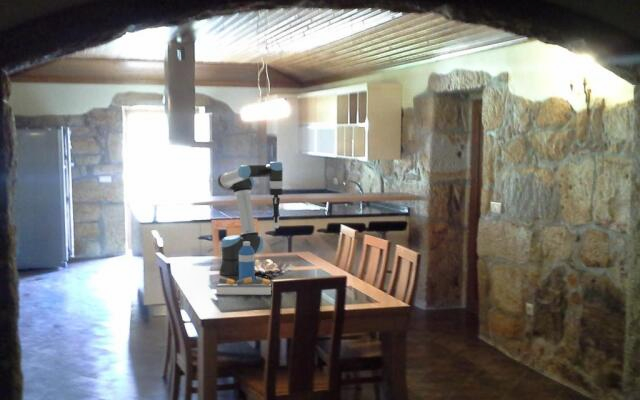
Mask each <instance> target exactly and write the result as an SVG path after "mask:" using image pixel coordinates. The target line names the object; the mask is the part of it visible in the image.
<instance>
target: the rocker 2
mask: <svg viewBox="0 0 640 400" xmlns="http://www.w3.org/2000/svg"><path fill="white" fill-rule="evenodd" d="M236 281H237V285H241V284H245V283H249V282H252V277H247V278H244V279H240V280H239V279H237V280H236Z"/></svg>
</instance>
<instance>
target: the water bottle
mask: <svg viewBox="0 0 640 400" xmlns="http://www.w3.org/2000/svg"><path fill="white" fill-rule="evenodd" d="M255 257H256V254H255V251H254V250H253V248H252V247H251V246H250V242H249V241H245V242H243V246H242V248H241V249H240V250H239V275H238V280H240V279H244V278H247V277H252V281H255V279H256V275H255V274H256V272H255V271H256V270H255V269H256V268H255V267H256V265H255V263H256V262H255V259H256V258H255Z"/></svg>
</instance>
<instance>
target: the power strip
mask: <svg viewBox="0 0 640 400" xmlns="http://www.w3.org/2000/svg"><path fill="white" fill-rule="evenodd" d="M271 284H272V285H273V281H270V284H269V285H265V284H262V283H258V282H255V281H252V282H249V283H245V284H241V285H237V280H235V281H234V284H233V285H230V284H226V283H222V282H219V281H218V284H217V285H216V295H252V296H253V295H256V296H257V295H260V296H261V295H262V296H264V295H272V293H271Z"/></svg>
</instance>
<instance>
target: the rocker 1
mask: <svg viewBox="0 0 640 400" xmlns="http://www.w3.org/2000/svg"><path fill="white" fill-rule="evenodd" d="M234 281H236V280H235V279H232V278H228V277H224V276H220V277H219V279H218V283H219V282H222V283H226V284H230V285H233V284H234Z"/></svg>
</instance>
